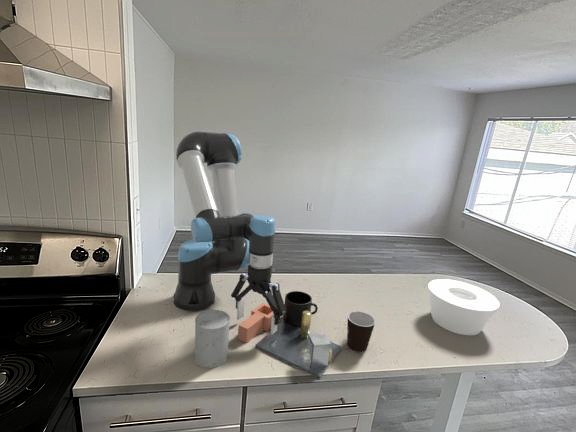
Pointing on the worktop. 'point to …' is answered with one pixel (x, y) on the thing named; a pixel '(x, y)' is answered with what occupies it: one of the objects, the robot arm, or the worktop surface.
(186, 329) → the worktop surface
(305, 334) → the post
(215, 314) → the white marble cylinder
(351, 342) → the coffee mug
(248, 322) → the link
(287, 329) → the dark grey rectangular mat
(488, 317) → the bowl
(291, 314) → the mug
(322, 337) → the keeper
